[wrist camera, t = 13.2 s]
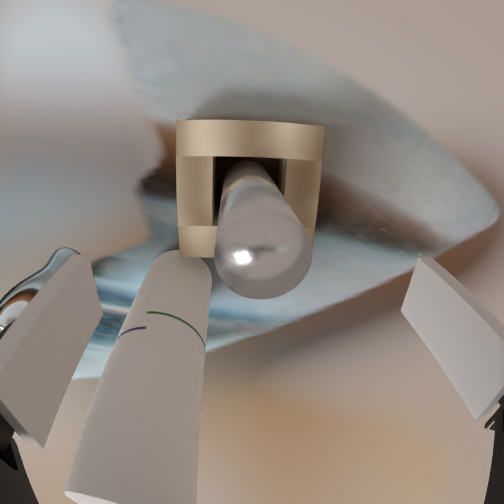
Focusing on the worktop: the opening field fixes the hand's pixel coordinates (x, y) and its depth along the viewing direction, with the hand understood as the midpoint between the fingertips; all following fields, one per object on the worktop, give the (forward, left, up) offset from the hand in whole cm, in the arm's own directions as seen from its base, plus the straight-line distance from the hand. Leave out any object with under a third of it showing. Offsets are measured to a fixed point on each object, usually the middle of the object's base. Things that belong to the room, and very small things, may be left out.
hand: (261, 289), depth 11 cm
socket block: (0, 0, -19) cm, 19 cm away
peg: (0, 0, -19) cm, 19 cm away
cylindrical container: (-7, -11, -19) cm, 23 cm away
